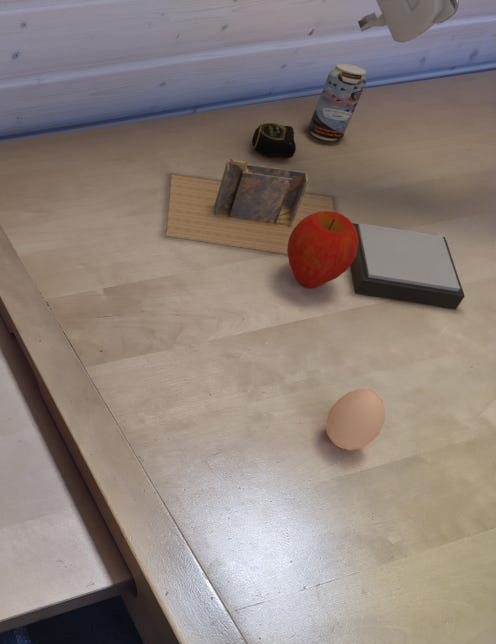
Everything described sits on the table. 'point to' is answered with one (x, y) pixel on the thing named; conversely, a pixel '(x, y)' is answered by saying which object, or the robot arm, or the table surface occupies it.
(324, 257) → the apple
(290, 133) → the tape measure
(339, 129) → the beverage can
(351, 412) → the egg
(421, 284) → the scale
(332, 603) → the table surface
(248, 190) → the architectural model on board
